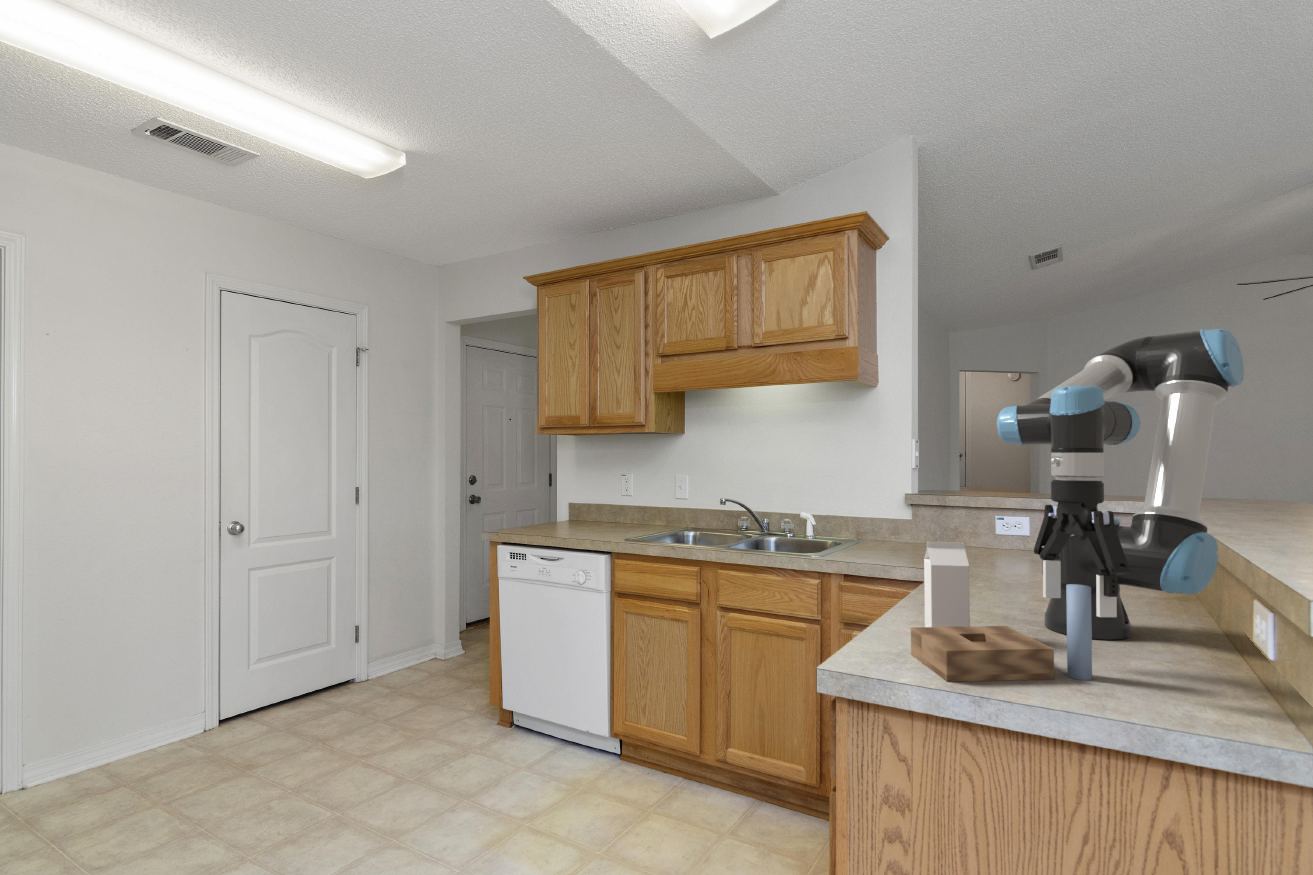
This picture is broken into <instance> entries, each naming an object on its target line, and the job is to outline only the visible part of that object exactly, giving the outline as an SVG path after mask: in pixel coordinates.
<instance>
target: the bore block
mask: <svg viewBox="0 0 1313 875" xmlns="http://www.w3.org/2000/svg"><path fill="white" fill-rule="evenodd" d="M910 655H911V656H912V657H913V658H915V659H916V660H918V661H919V662H920V663H922V664H923V665H924V666H925V667H927V668H928V669H930V670H931V671H932V672H933V673H935V674H936V675H938V676H939V677H940V678H942V679H943V680H944V681H946V682H978V681H979V682H981V681H983V682H984V681H985V682H987V681H989V682H990V681H991V682H992V681H1033V680H1036V681H1037V680H1055V648H1053V647H1051V646H1048V645H1047V644H1044V643H1043V642H1040V641H1038V640H1037V639H1035V638H1032V637H1030V636H1029V635H1026V634H1024V633H1021V631H1020V632H1019V631H1018V630H1016V629H1014V628H1012V627H1009V626H1008V625H989V626H987V625H985V626H984V625H983V626H981V625H979V626H977V625H976V626H975V625H974V626H970V627H925V626H924V627H923V626H920V627H910Z"/></svg>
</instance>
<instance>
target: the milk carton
mask: <svg viewBox="0 0 1313 875" xmlns="http://www.w3.org/2000/svg"><path fill="white" fill-rule="evenodd" d="M965 543H966V542H952V541H951V542H950V541H949V542H947V541H946V542H945V541H944V542H942V541H927V542H926V551H925V554H924V557H923V562H924V563H923V570H924V571H923V573H924V574H923V576H924V577H923V578H924V586H923V587H924V627H971V615H970V613H971V610H970V606H971V602H970V601H971V600H970V597H971V596H970V595H971V594H970V564H969V560H968V555H967V552H966V548H965V547H966V544H965Z"/></svg>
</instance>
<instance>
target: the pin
mask: <svg viewBox="0 0 1313 875" xmlns="http://www.w3.org/2000/svg"><path fill="white" fill-rule="evenodd" d="M1066 601H1067V634H1066V655H1067V656H1066V659H1067V660H1066V663H1067V664H1066V667H1067V668H1066V669H1067V670H1066V671H1067V677H1069V678H1072V679H1074V680H1080V681H1092V680H1093V639H1092V621H1091V587H1090V586H1086V585H1079V584H1068V585H1066Z"/></svg>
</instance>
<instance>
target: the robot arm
mask: <svg viewBox="0 0 1313 875" xmlns="http://www.w3.org/2000/svg"><path fill="white" fill-rule="evenodd" d="M1244 375H1245V368H1244V359H1243V355H1242V351H1241V348H1240V345H1239V342H1238V341H1237V339H1236V337H1235V335H1234V334H1233V333H1232V332H1231V331H1229V330H1227V329H1225V328H1214V329H1212V328H1211V329H1203V328H1201V329H1199V330H1196V331H1195V330H1194V331H1187V332H1179V333H1178V332H1177V333H1171V334H1162V335H1161V334H1160V335H1159V334H1158V335H1152V336H1143V337H1138V338H1135V339H1131V340H1128V341H1125V342H1123V343H1120V344H1118V345H1116V346H1114V347H1111V348H1110V349H1107V350H1105V351H1103V352H1101V353H1099V354H1098V355H1096V356H1094V357H1093V358H1092V359H1090V360H1088V361H1087V363H1086V364H1085V366H1083V369H1082V370H1080V372H1078V373H1076V374H1074V375H1073V376H1072V377H1070V378H1068V379H1067V380H1065V381H1063V382H1061V383H1060V384H1058V385H1057V386H1055V387H1054V388H1052V389H1051V390H1049V391H1048V392H1046V393H1044V394H1042V395H1041V396H1039V397H1037V398H1036V399H1034V400H1033V401H1031V402H1029V403H1026V404H1024V405H1018V404H1017V405H1014V406H1006V407H1003V408H1001V410H1000V412H999V413H998V416H997V418H996V419H997V420H996V428H997V434H998V436H999V438H1000V440H1001V441H1002V442H1004V443H1005V444H1009V445H1021V446H1025V445H1026V446H1027V445H1033V446H1034V445H1050V447H1051V449H1050V463H1051V466H1050V475H1051V476H1052V477H1055V479H1052V481H1050V499H1051V500H1052V502H1054V503H1057V504H1045V505H1044V512H1043V516H1044V517H1043V519H1042V523H1041V524H1040V525H1041V526H1040V529H1039V531H1038V535H1037V538H1036V541H1035V544H1034V548H1033V553H1034V554H1035V555H1039V558H1040V559H1041V560H1042V596H1043V598H1045V599H1049V601H1048V605H1047V608H1046V610H1045V613H1044V626H1045V627H1046V628H1047V629H1049V630H1052V631H1054V632H1057V633H1061V634H1062V635H1067V601H1066V585H1068V584H1079V585H1086V586H1090V587H1091V621H1092V640H1093V639H1096V640H1122V639H1123V640H1124V639H1128V638H1130V637H1131V636H1132V626H1131V622H1130V620H1129V615H1128V613H1127V611H1126V609H1125V606H1124V603H1123V601H1122V598H1121V592H1120V591H1121V586H1126V587H1127V586H1128V587H1134V588H1141V589H1146V590H1153V591H1159V592H1164V593H1166V594H1183V595H1195V594H1199V593H1201V592H1203V591H1204V589H1205V588H1207V587H1208V586H1209V585H1210V583H1211V581H1212V579H1214V578H1213V577H1214V575H1215V572H1216V571H1217V570H1216V569H1217V566H1218V560H1219V554H1218V551H1219V548H1218V546H1219V545H1218V542H1217V540H1216V538H1215V537H1214V536H1213V535H1212V534H1210V533H1208V526H1207V524H1206V523H1204V521H1203V520H1202V519H1201V518H1200V511H1201V505H1202V498H1203V490H1204V486H1205V478H1206V472H1207V466H1208V465H1207V463H1208V458H1209V452H1210V451H1209V450H1210V445H1211V438H1212V431H1213V424H1214V417H1215V411H1216V405H1218V404H1219V403H1221V402H1223V401H1224V400H1225V399H1226V398H1227V396H1228V392H1229V390H1228V389H1229V387H1231V388H1235V387H1237V386H1239V385H1241V384H1242V381H1244ZM1150 391H1152V392H1153V393H1154V395H1155V396H1156V397H1157V398H1158V399H1159V400H1161V403H1160V409H1159V416H1158V420H1157V426H1156V433H1155V439H1154V445H1153V449H1152V450H1153V451H1152V458H1151V463H1150V469H1149V473H1148V474H1149V475H1148V480H1147V486H1146V490H1145V491H1146V493H1145V499H1144V505H1143V509H1141V510H1140V511H1138V512H1135V513H1134V514H1133V515H1132V518H1131V523H1130V526H1124V525H1121V522H1120V521H1119V519H1118V518H1117V517H1114V516H1115V514H1114V512H1113V511H1112V510H1098V505H1100V504H1102V503H1104V501H1105V483H1104V482H1103V480H1100V478H1103V477H1105V454H1104V452H1105V450H1104V446H1105V445H1106V446H1109V445H1110V446H1111V445H1112V446H1117V445H1120V444H1124V443H1129V442H1130V441H1131V440H1133V439H1134V438H1135V437H1136V436H1137V435H1138V433H1139V431H1140V429H1141V422H1142V421H1141V417H1140V415H1139V413H1138V412H1137V410H1136V409H1135V408H1134V407H1133V406H1131V405H1129V404H1127V403H1122V402H1120V401H1118V400H1114V401H1106V400H1107V399H1112V398H1117V397H1120V396H1123V395H1124V394H1127V393H1132V392H1134V393H1135V392H1150ZM1120 585H1121V586H1120Z"/></svg>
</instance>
